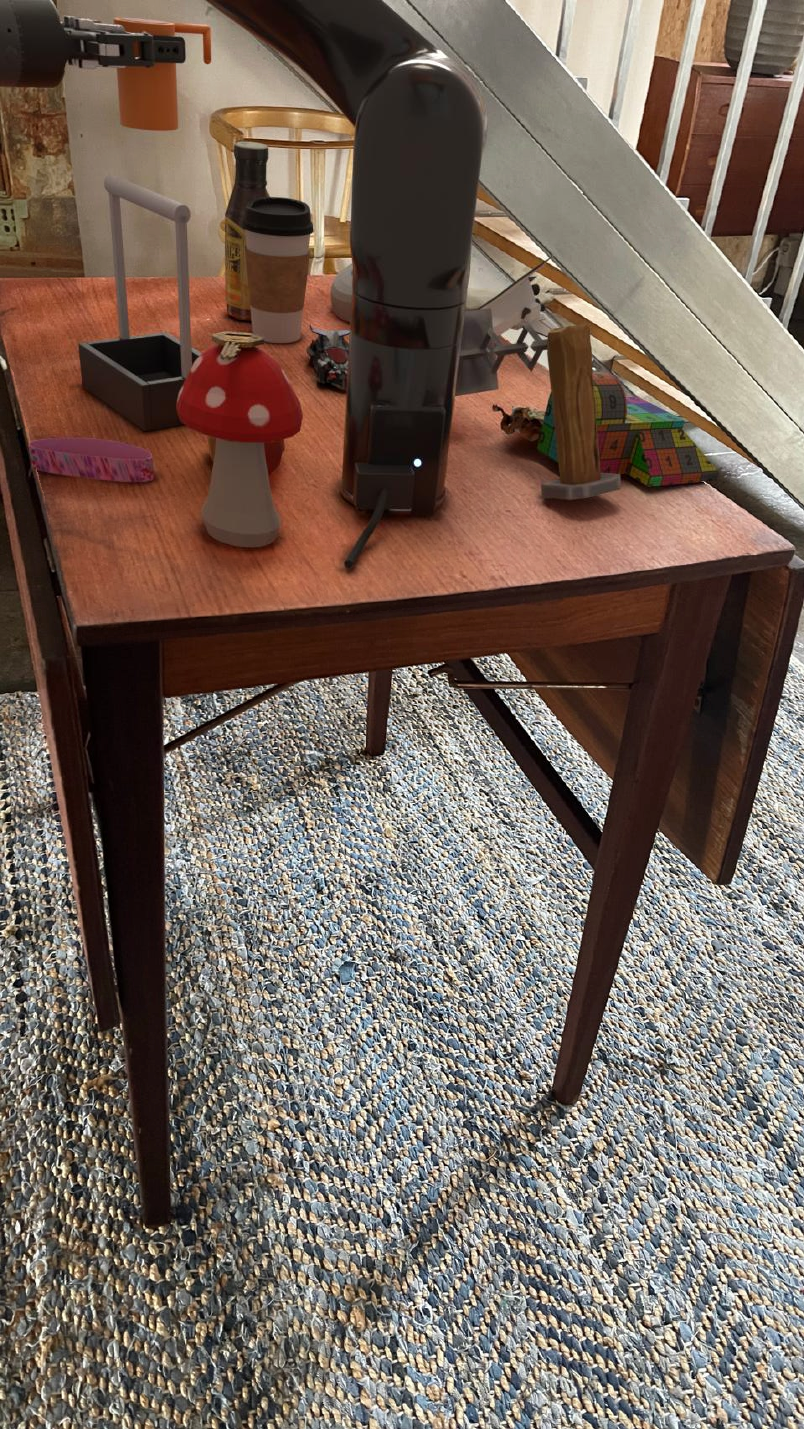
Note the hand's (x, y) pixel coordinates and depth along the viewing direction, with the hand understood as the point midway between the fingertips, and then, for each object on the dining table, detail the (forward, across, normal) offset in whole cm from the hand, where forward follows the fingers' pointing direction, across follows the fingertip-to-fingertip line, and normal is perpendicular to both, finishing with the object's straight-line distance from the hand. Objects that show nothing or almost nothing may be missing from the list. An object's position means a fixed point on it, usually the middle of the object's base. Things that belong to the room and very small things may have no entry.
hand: (167, 46), depth 102 cm
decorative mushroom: (-19, -44, +30) cm, 57 cm away
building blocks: (+22, -51, +30) cm, 63 cm away
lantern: (+12, -40, +30) cm, 51 cm away
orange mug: (0, 0, +7) cm, 7 cm away
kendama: (-10, -30, +30) cm, 43 cm away
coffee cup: (+13, 0, +30) cm, 33 cm away
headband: (-24, -27, +26) cm, 45 cm away
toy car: (+11, -15, +30) cm, 36 cm away
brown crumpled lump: (+19, -39, +25) cm, 50 cm away
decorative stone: (+34, +2, +28) cm, 44 cm away
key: (-20, -46, +14) cm, 53 cm away
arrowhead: (+33, +4, +29) cm, 44 cm away
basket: (-10, -14, +30) cm, 35 cm away
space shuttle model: (+33, -14, +25) cm, 44 cm away
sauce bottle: (+14, +8, +30) cm, 34 cm away
